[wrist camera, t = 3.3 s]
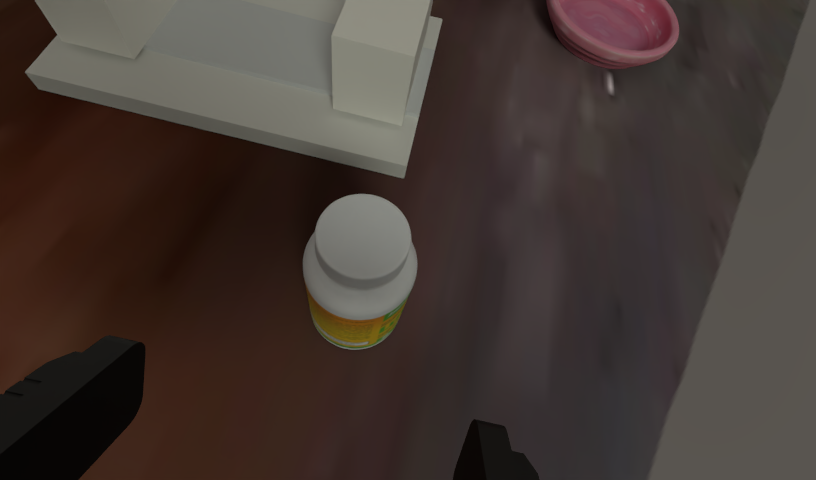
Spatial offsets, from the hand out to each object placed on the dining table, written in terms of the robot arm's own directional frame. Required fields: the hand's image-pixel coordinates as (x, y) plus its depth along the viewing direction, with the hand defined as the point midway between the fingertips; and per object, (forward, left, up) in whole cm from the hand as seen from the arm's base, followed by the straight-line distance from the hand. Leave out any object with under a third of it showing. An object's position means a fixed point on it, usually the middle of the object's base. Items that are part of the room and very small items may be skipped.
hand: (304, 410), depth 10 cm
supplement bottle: (0, +7, -14) cm, 16 cm away
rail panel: (-12, +25, -14) cm, 31 cm away
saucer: (+16, +39, -15) cm, 45 cm away
